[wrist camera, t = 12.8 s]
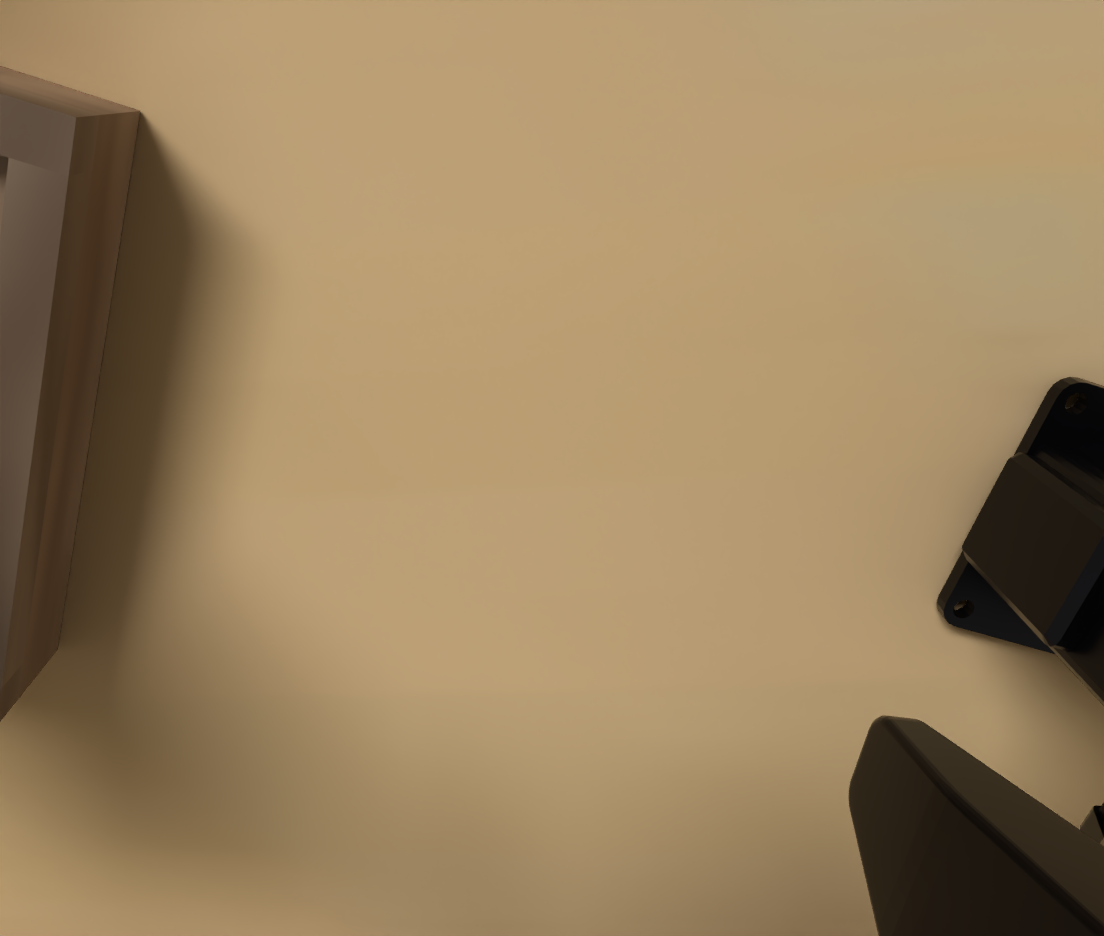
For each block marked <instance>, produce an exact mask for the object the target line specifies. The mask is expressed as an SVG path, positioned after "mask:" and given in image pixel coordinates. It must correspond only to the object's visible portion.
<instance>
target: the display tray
mask: <svg viewBox="0 0 1104 936" xmlns="http://www.w3.org/2000/svg"><path fill="white" fill-rule="evenodd" d="M139 116H140V111H139V110H136V109H133V108H129V107H126V106H123V105H120V104H117V103H114V102H111V101H108V100H104V99H101V98H98V97H95V96H92V95H89V94H86V93H83V92H80V91H76V90H73V89H70V88H67V87H64V86H61V85H58V84H55V83H51V82H48V81H45V80H42V79H39V78H36V77H33V76H30V75H27V74H23V73H20V72H17V71H14V70H11V69H8V68H5V67H2V66H0V721H1V720H2V719H3V717H4V716H5V715H6V713H7V712H8V711H9V710H10V708H11V707H12V706H13V705H14V703H15V702H16V701H17V700H18V698H19V697H20V696H21V695H22V693H23V692H24V691H25V690H26V688H27V687H28V686H29V685H30V683H31V682H32V681H33V680H34V678H35V677H36V676H37V674H38V673H39V672H40V671H41V669H42V668H43V667H44V666H45V664H46V663H47V662H48V661H49V659H50V658H51V657H52V656H53V654H54V653H55V652H56V651H57V649H58V644H59V637H60V631H61V624H62V618H63V611H64V605H65V598H66V592H67V585H68V579H69V572H70V566H71V559H72V553H73V546H74V539H75V533H76V526H77V520H78V513H79V507H80V500H81V494H82V487H83V481H84V474H85V468H86V461H87V455H88V448H89V442H90V435H91V429H92V422H93V416H94V409H95V403H96V396H97V390H98V383H99V377H100V370H101V364H102V357H103V351H104V344H105V338H106V331H107V325H108V318H109V311H110V305H111V298H112V292H113V285H114V279H115V272H116V266H117V259H118V253H119V246H120V240H121V233H122V227H123V220H124V214H125V207H126V201H127V194H128V188H129V181H130V175H131V168H132V162H133V155H134V149H135V142H136V136H137V129H138V123H139Z"/></svg>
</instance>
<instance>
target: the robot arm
mask: <svg viewBox="0 0 1104 936" xmlns="http://www.w3.org/2000/svg"><path fill="white" fill-rule="evenodd" d="M1075 393H1078V395H1079V396H1078V400H1077V402H1076V403H1075V404H1074V405H1073V406H1072V407H1070V408H1067V409H1066V408H1065V404H1066V400H1067V399H1068V398H1069V397H1070V396H1071V395H1073V394H1075ZM962 550H963V551H962V553H961V555H960V557H959V559H958V561H957V563H956V564H955V566H954V568H953V570H952V572H951V574H950V576H949V578H948V579H947V581H946V583H945V585H944V587H943V589H942V591H941V593H940V594H939V597H938V600H937V608H938V610H939V612H940V613H941V614H942V616H943V617H944V618H945V619H946V621H947V622H948V623H949V624H951V625H953V626H956V627H959V628H963V629H967V630H970V631H974V632H977V633H981V634H985V635H988V636H992V637H995V638H999V639H1003V640H1006V641H1010V642H1013V643H1017V644H1021V645H1024V646H1028V647H1032V648H1035V649H1039V650H1042V651H1046V652H1050V653H1053V654H1056V655H1057V656H1058V657H1059V658H1060V659H1061V660H1062V661H1063V663H1064V664H1065V665H1066V666H1067V667H1068V668H1069V669H1070V670H1071V671H1072V672H1073V673H1074V674H1075V675H1076V677H1077V678H1078V679H1079V680H1080V681H1081V682H1082V683H1083V684H1084V685H1085V686H1086V687H1087V688H1088V689H1089V691H1090V692H1091V693H1092V694H1093V695H1094V696H1095V697H1096V698H1097V699H1098V700H1099V701H1100V702H1101V703H1102V704H1103V706H1104V386H1102V385H1099V384H1096V383H1092V382H1089V381H1086V380H1083V379H1080V378H1075V377H1068V378H1064V379H1061V380H1059V381H1058V382H1056V383H1055V384H1053V386H1052V387H1051V388H1050V390H1049V391H1048V392H1047V394H1046V396H1045V398H1044V400H1043V402H1042V404H1041V405H1040V407H1039V409H1038V411H1037V413H1036V415H1035V417H1034V418H1033V420H1032V422H1031V424H1030V426H1029V428H1028V430H1027V432H1026V433H1025V435H1024V437H1023V439H1022V441H1021V443H1020V445H1019V447H1018V448H1017V450H1016V452H1015V454H1014V456H1012V457H1011V458H1010V459H1008V461H1007V463H1006V464H1005V466H1004V468H1003V470H1002V472H1001V474H1000V476H999V478H998V479H997V481H996V483H995V485H994V487H993V489H992V491H991V493H990V494H989V496H988V498H987V500H986V502H985V504H984V506H983V508H982V509H981V511H980V513H979V515H978V517H977V519H976V521H975V523H974V524H973V526H972V528H971V530H970V532H969V534H968V536H967V538H966V539H965V541H964V543H963V545H962ZM962 600H967V602H966V604H965V605H964V606H963V607H962V608H960V609H958V610H954V606H955V605H956V604H957V603H958V602H960V601H962ZM849 806H850V812H851V816H852V821H853V825H854V829H855V834H856V838H857V843H858V847H859V851H860V856H861V860H862V865H863V869H864V873H865V878H866V882H867V887H868V891H869V896H870V900H871V904H872V909H873V913H874V918H875V922H876V926H877V931H878V935H879V936H1104V802H1103V804H1102V805H1101V806H1094V807H1093V808H1092V809H1091V811H1090V813H1089V814H1088V816H1087V817H1086V819H1085V820H1084V822H1083V823H1082V825H1081V826H1080V830H1079V829H1078V828H1076V827H1075V826H1073V825H1072V824H1071V823H1069V822H1068V821H1066V820H1065V819H1063V818H1062V817H1060V816H1059V815H1058V814H1056V813H1055V812H1053V811H1052V810H1050V809H1049V808H1047V807H1046V806H1044V805H1043V804H1042V803H1040V802H1039V801H1037V800H1036V799H1034V798H1033V797H1031V796H1030V795H1028V794H1027V793H1026V792H1024V791H1023V790H1021V789H1020V788H1018V787H1017V786H1015V785H1014V784H1012V783H1011V782H1010V781H1008V780H1007V779H1005V778H1004V777H1002V776H1001V775H999V774H998V773H997V772H995V771H994V770H992V769H991V768H989V767H988V766H986V765H985V764H983V763H982V762H981V761H979V760H978V759H976V758H975V757H973V756H972V755H970V754H969V753H967V752H966V751H965V750H963V749H962V748H960V747H959V746H957V745H956V744H954V743H953V742H951V741H950V740H949V739H947V738H946V737H944V736H943V735H941V734H940V733H938V732H937V731H936V730H934V729H933V728H931V727H930V726H928V725H927V724H925V723H924V722H922V721H920V720H916V719H911V718H902V717H893V716H881V717H879V718H877V719H875V720H874V722H873V723H872V724H871V727H870V729H869V731H868V734H867V737H866V739H865V742H864V745H863V748H862V751H861V753H860V756H859V759H858V762H857V765H856V767H855V770H854V773H853V776H852V779H851V782H850V788H849Z"/></svg>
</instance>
